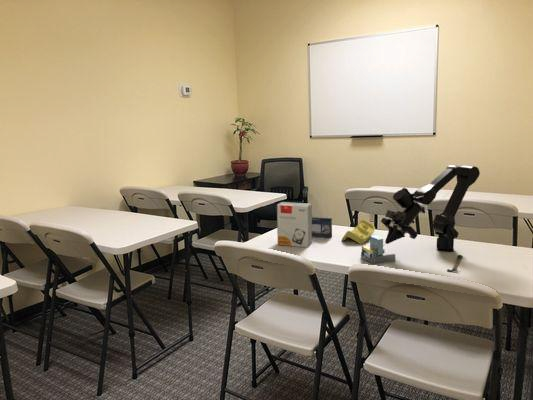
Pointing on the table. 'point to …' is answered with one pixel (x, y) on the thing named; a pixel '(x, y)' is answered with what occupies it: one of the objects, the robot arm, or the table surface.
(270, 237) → the table surface
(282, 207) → the hard drive box
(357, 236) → the plastic component
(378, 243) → the grey-blue brushed block
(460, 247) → the table surface
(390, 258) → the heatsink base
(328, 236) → the vhs cassette tape
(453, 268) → the tomahawk
